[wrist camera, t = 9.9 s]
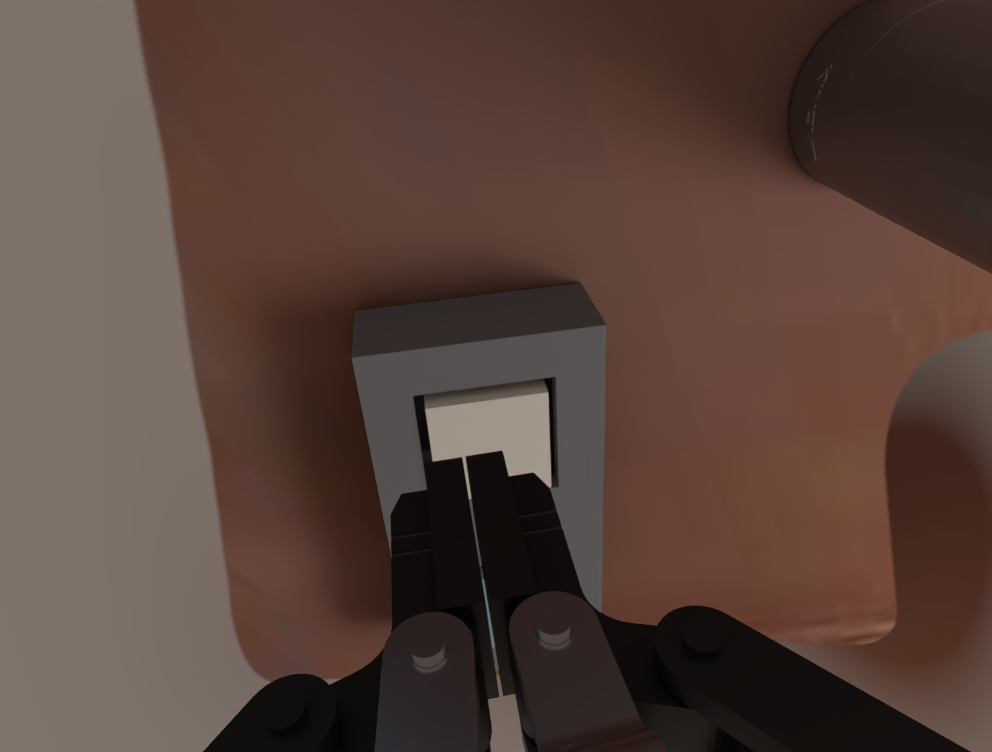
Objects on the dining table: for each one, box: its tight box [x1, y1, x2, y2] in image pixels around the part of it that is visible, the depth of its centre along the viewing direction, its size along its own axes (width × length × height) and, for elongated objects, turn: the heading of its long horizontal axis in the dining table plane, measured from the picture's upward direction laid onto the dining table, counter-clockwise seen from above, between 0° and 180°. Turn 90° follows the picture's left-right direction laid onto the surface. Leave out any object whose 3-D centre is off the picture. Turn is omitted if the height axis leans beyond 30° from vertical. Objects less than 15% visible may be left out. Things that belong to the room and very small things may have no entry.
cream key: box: [424, 379, 551, 499], centre depth 37 cm, size 6×6×3 cm
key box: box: [352, 283, 607, 671], centre depth 42 cm, size 12×24×5 cm, turn 4°
